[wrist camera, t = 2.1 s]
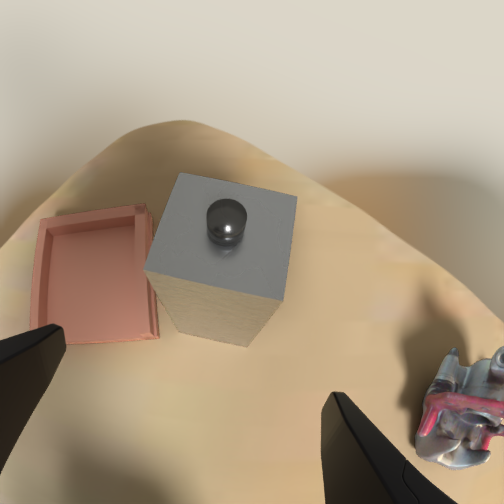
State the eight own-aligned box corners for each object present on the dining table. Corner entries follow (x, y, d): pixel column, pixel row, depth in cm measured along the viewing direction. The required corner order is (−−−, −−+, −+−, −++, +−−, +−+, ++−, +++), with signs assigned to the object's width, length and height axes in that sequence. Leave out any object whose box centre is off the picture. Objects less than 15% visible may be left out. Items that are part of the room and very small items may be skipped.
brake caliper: (382, 477, 15) (521, 374, 10) (387, 381, 25) (473, 287, 20) (464, 499, 14) (574, 419, 8) (457, 418, 23) (535, 342, 18)
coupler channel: (159, 338, 21) (153, 332, 18) (43, 344, 19) (27, 338, 17) (152, 219, 25) (147, 202, 22) (50, 233, 23) (38, 219, 21)
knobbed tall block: (246, 347, 21) (289, 292, 9) (178, 332, 21) (136, 257, 9) (257, 289, 23) (303, 181, 11) (193, 275, 23) (178, 155, 11)
